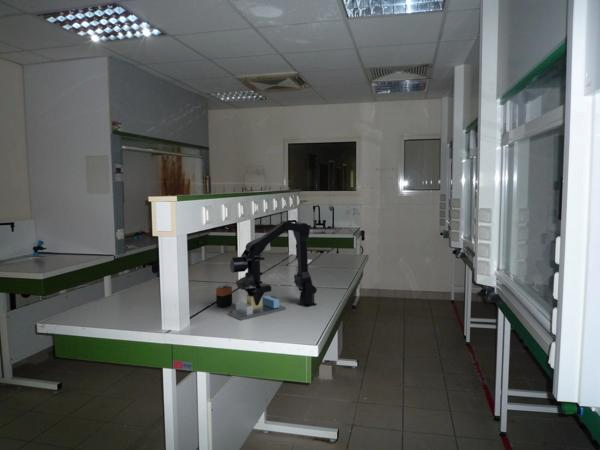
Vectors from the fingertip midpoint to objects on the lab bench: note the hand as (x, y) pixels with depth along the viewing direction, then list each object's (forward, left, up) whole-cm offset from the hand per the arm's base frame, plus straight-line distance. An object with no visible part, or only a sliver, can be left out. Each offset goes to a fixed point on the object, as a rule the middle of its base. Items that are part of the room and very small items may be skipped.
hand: (254, 304), depth 188 cm
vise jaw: (-10, 0, -2) cm, 10 cm away
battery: (+5, -19, -4) cm, 20 cm away
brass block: (0, 0, -2) cm, 2 cm away
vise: (0, 0, -4) cm, 4 cm away
